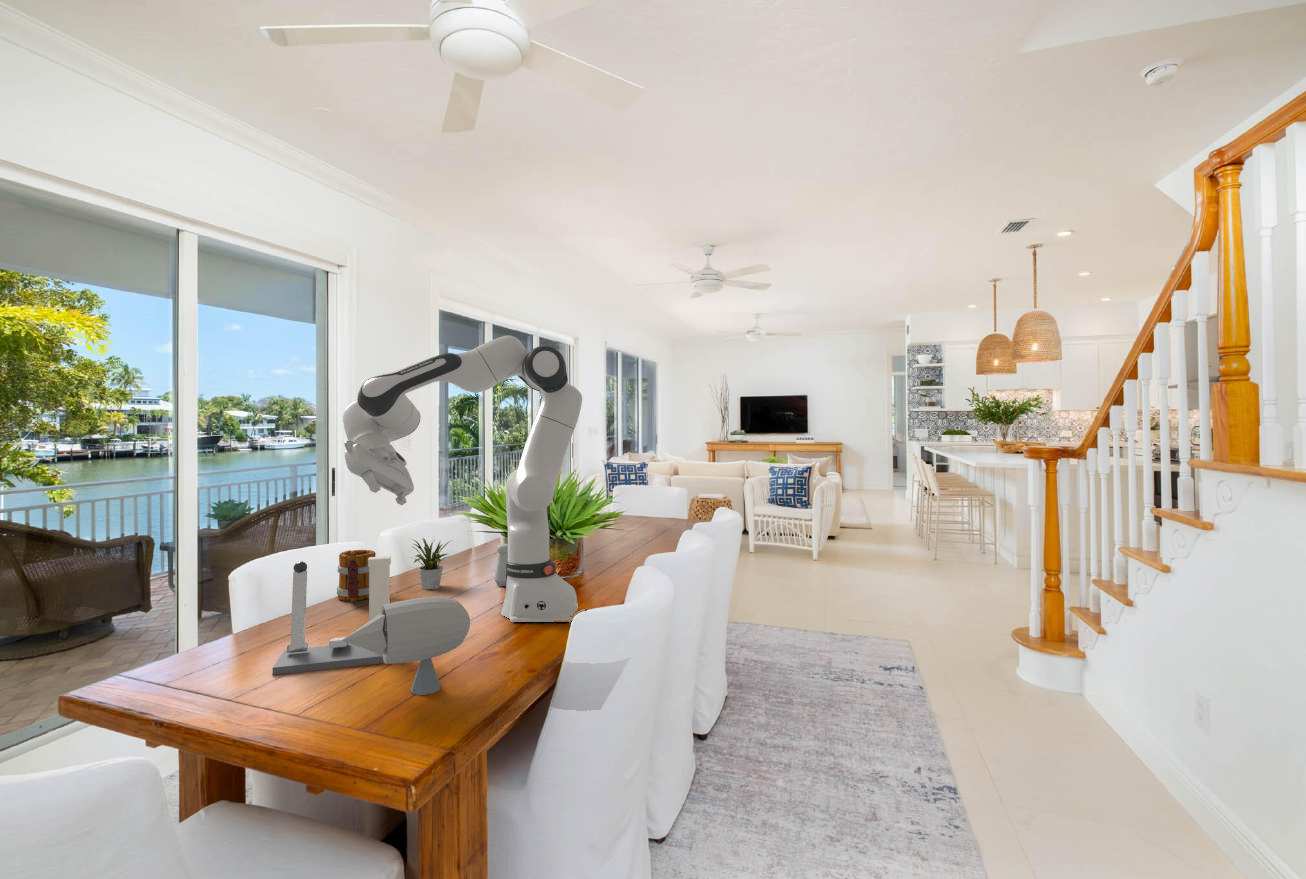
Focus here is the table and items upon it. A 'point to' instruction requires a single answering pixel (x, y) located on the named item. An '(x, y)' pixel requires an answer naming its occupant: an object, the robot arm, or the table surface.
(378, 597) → the beige rectangular bar
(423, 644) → the jet engine
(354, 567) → the mug
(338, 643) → the block
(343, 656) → the console
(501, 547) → the salt shaker
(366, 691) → the table surface
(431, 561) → the house plant
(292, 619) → the steel toggle lever
